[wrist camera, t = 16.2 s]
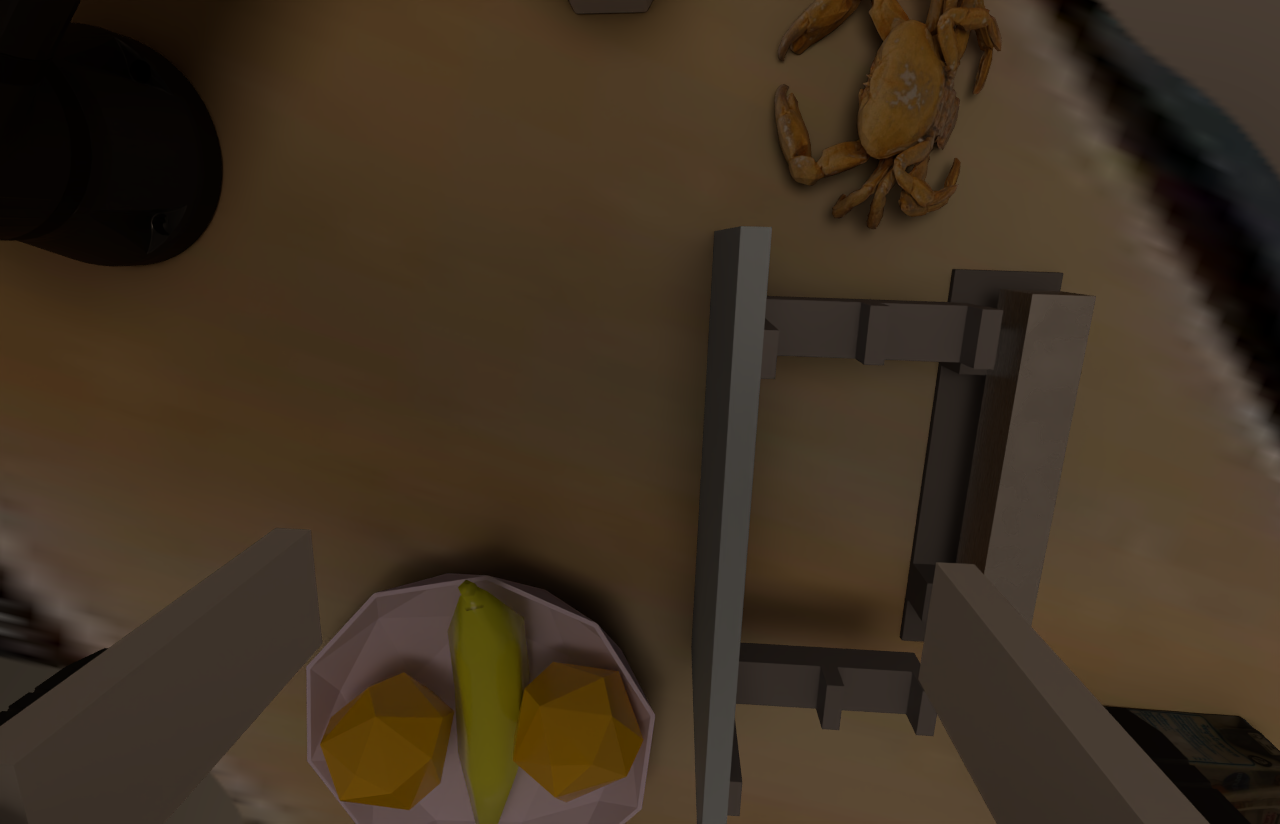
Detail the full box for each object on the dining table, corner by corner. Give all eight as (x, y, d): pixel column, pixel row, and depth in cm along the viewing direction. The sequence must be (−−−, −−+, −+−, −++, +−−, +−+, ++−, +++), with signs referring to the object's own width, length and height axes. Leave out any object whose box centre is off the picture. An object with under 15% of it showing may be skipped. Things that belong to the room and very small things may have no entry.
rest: (899, 636, 52) (915, 663, 49) (952, 269, 45) (974, 271, 42) (991, 641, 52) (1013, 669, 49) (1059, 272, 45) (1090, 275, 42)
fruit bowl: (584, 860, 60) (562, 1000, 49) (298, 741, 58) (210, 858, 47) (726, 608, 53) (738, 705, 42) (405, 464, 51) (331, 526, 40)
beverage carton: (1215, 795, 55) (1286, 869, 48) (974, 776, 56) (1012, 846, 49) (1242, 712, 53) (1319, 777, 46) (991, 693, 54) (1033, 754, 47)
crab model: (799, -53, 41) (817, -97, 36) (1003, -11, 41) (1051, -49, 36) (740, 205, 45) (748, 199, 40) (927, 243, 45) (960, 243, 40)
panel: (691, 647, 54) (698, 877, 34) (714, 231, 46) (740, 226, 26) (867, 657, 53) (976, 898, 34) (922, 237, 45) (1107, 237, 26)
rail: (941, 653, 49) (964, 689, 45) (1000, 289, 42) (1032, 294, 38) (990, 656, 48) (1017, 692, 45) (1057, 290, 42) (1096, 296, 38)
